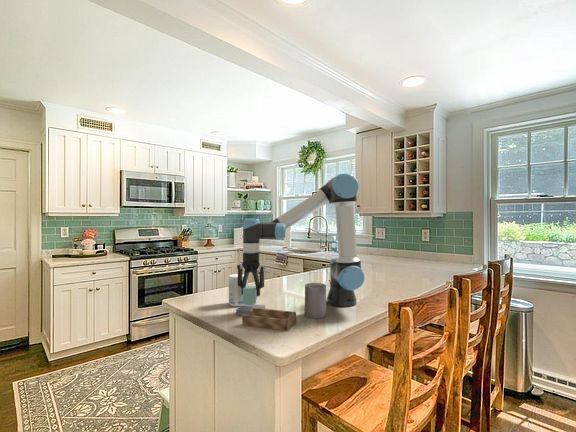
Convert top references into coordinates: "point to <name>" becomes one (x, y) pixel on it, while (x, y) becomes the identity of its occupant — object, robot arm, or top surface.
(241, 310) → the trivet
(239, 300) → the supplement tub
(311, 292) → the pillar candle
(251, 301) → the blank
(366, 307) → the top surface
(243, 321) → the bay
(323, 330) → the top surface
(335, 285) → the robot arm
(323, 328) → the top surface
